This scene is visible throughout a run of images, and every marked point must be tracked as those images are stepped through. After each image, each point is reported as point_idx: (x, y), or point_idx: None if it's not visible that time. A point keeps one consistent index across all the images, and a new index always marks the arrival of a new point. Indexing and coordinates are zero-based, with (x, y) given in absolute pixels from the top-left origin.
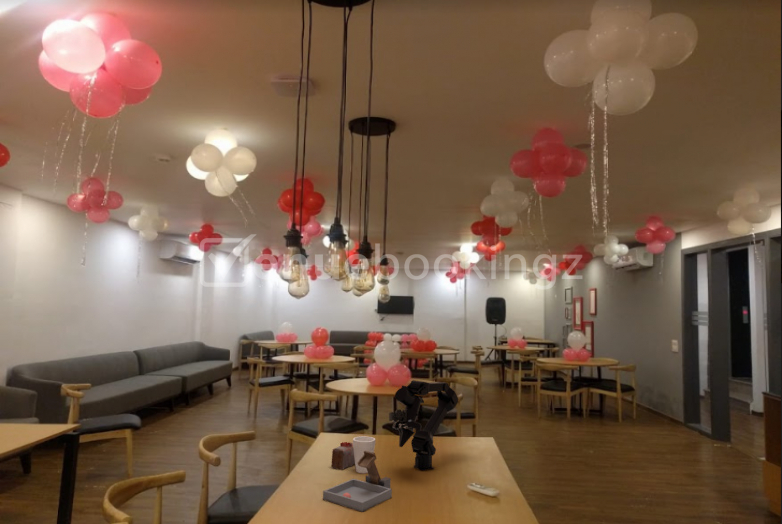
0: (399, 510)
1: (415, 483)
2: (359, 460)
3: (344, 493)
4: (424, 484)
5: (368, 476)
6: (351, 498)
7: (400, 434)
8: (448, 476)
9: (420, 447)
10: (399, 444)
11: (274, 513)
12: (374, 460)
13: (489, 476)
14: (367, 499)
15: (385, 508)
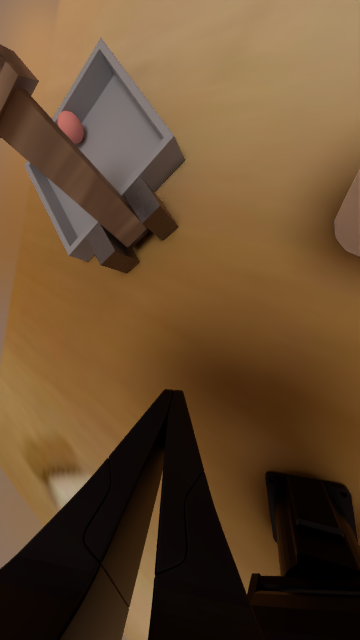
0: (37, 258)
1: (153, 369)
2: (7, 50)
3: (64, 111)
4: (139, 389)
5: (134, 186)
6: None
7: (161, 539)
8: None
9: (276, 613)
10: (175, 399)
11: None
12: None
13: (142, 606)
14: (34, 179)
15: (49, 232)
